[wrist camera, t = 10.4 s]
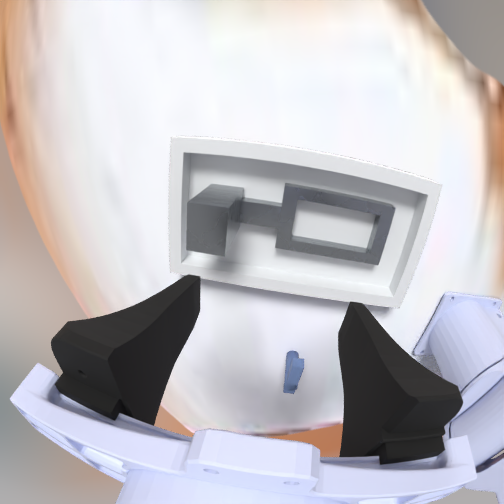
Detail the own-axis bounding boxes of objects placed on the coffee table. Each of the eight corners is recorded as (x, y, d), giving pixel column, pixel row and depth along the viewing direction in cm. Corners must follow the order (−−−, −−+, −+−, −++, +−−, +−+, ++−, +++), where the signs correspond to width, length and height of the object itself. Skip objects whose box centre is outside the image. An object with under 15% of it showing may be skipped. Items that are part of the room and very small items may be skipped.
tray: (430, 179, 17) (442, 185, 15) (393, 294, 22) (399, 308, 20) (181, 135, 19) (170, 137, 17) (178, 260, 23) (169, 272, 22)
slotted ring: (391, 203, 18) (417, 228, 14) (375, 259, 20) (393, 295, 16) (212, 172, 19) (187, 188, 15) (208, 231, 21) (186, 261, 17)
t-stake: (305, 334, 25) (305, 367, 21) (296, 361, 27) (294, 393, 23) (292, 332, 25) (291, 366, 21) (284, 360, 27) (282, 392, 23)
